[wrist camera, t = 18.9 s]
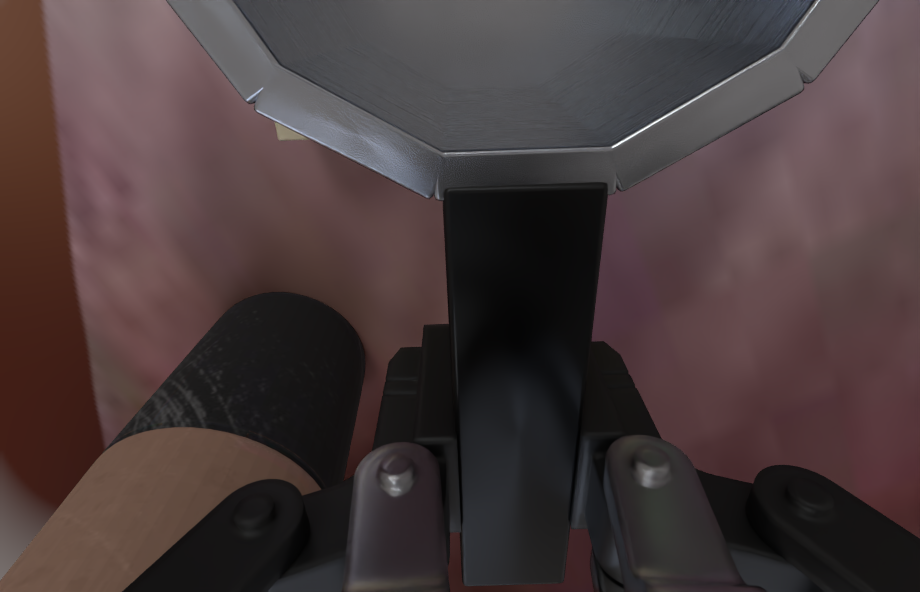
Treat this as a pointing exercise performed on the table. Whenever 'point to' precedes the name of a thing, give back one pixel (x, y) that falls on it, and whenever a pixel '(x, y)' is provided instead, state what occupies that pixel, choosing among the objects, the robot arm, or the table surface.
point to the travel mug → (208, 443)
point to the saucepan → (519, 181)
